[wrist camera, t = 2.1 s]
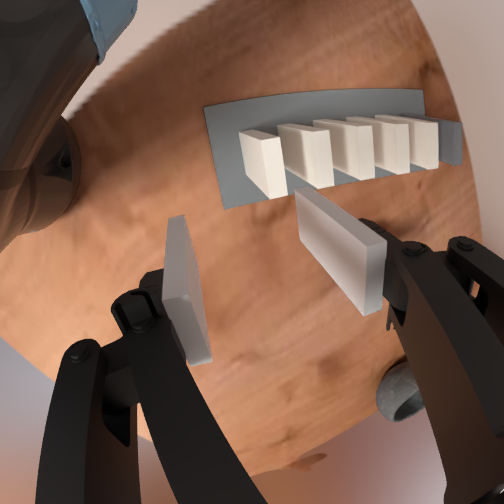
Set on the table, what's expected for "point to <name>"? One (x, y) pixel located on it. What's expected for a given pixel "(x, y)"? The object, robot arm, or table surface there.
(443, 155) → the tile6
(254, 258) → the table surface
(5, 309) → the table surface
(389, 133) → the tile
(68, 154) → the robot arm
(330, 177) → the tile
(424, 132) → the tile
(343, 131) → the tile
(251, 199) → the mat
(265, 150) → the tile
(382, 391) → the bowl
